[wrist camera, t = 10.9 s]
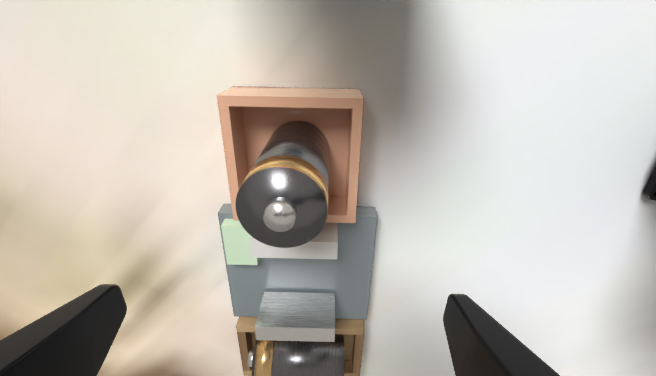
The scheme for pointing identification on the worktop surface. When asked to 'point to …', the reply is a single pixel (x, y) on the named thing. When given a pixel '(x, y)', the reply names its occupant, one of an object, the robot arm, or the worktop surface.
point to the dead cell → (287, 187)
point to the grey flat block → (302, 264)
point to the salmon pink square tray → (295, 105)
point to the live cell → (297, 358)
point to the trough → (347, 327)
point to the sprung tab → (296, 317)
